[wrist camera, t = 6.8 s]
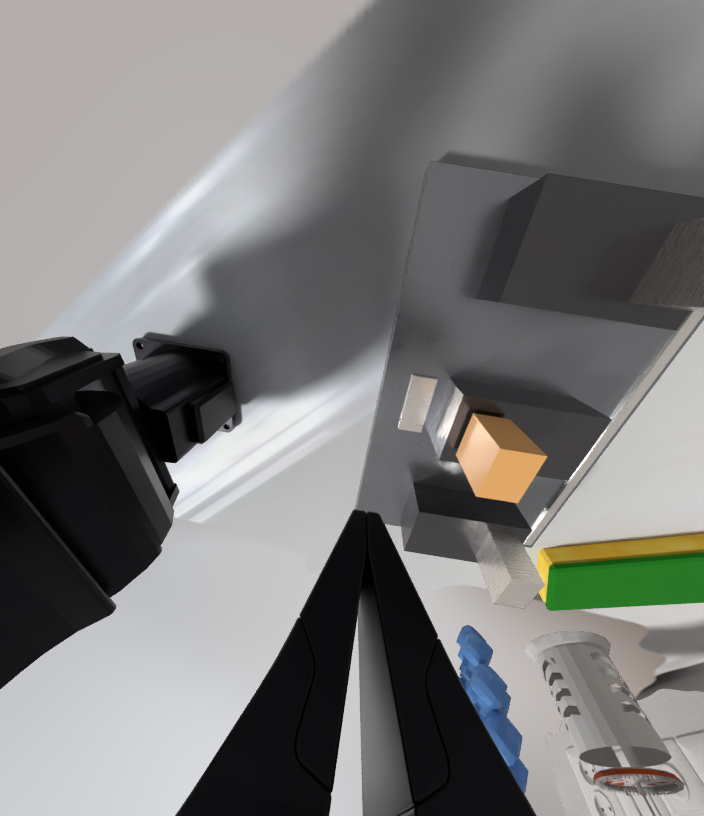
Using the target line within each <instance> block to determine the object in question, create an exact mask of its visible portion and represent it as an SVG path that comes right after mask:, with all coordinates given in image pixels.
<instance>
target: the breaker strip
mask: <svg viewBox="0 0 704 816" xmlns="http://www.w3.org/2000/svg"><path fill="white" fill-rule="evenodd" d="M703 320H704V198H701V197H695V196H688V195H682V194H676V193H669V192H663V191H657V190H650V189H644V188H638V187H631V186H625V185H619V184H612V183H606V182H599V181H593V180H587V179H580V178H574V177H568V176H561V175H555V174H549V173H548V174H547V175H545V176H544V177H542V178H536V177H529V176H523V175H517V174H510V173H504V172H498V171H491V170H485V169H479V168H472V167H466V166H460V165H453V164H447V163H441V162H434V161H431V162H430V164H429V166H428V168H427V170H426V173H425V178H424V182H423V187H422V192H421V197H420V201H419V206H418V211H417V216H416V220H415V225H414V230H413V235H412V240H411V244H410V249H409V254H408V259H407V263H406V268H405V273H404V278H403V282H402V287H401V292H400V297H399V301H398V306H397V311H396V316H395V320H394V325H393V330H392V335H391V340H390V344H389V349H388V354H387V359H386V363H385V368H384V373H383V378H382V382H381V387H380V392H379V397H378V401H377V406H376V411H375V416H374V420H373V425H372V430H371V435H370V440H369V444H368V449H367V454H366V459H365V463H364V468H363V473H362V478H361V482H360V487H359V492H358V497H357V501H356V506H355V509H358V510H364V511H365V512H367V511H371V512H377V513H379V514H380V516H381V518H382V520H383V522H384V524H389V525H395V526H401V529H402V537H403V546H404V551H409V552H415V553H421V554H427V555H434V556H440V557H446V558H452V559H458V560H464V561H470V562H477V563H478V564H479V567H480V570H481V572H482V575H483V578H484V580H485V583H486V586H487V588H488V591H489V593H490V596H491V599H492V602H493V604H498V605H504V606H510V607H517V608H523V609H524V608H525V607H526V606H527V604H529V602H530V601H531V600H532V599H533V598H534V597H535V596H536V595H537V594H538V592H539V591H540V590H541V589H542V588H543V587H544V586H545V584H544V582H543V580H542V578H541V577H540V575H539V573H538V571H537V570H536V568H535V566H534V564H533V563H532V561H531V559H530V557H529V556H528V554H527V552H526V550H525V548H524V547H530V548H531V547H532V546H533V545H534V543H535V542H536V541H537V539H538V538H539V537H540V535H541V534H542V533H543V531H544V530H545V529H546V527H547V526H548V525H549V524H550V522H551V521H552V520H553V518H554V517H555V516H556V514H557V513H558V512H559V510H560V509H561V508H562V506H563V505H564V504H565V502H566V501H567V500H568V498H569V497H570V496H571V494H572V493H573V492H574V490H575V489H576V488H577V487H578V485H579V484H580V483H581V481H582V480H583V479H584V477H585V476H586V475H587V473H588V472H589V471H590V469H591V468H592V467H593V465H594V464H595V463H596V461H597V460H598V459H599V457H600V456H601V455H602V453H603V452H604V451H605V450H606V448H607V447H608V446H609V444H610V443H611V442H612V440H613V439H614V438H615V436H616V435H617V434H618V432H619V431H620V430H621V428H622V427H623V426H624V424H625V423H626V422H627V420H628V419H629V418H630V416H631V415H632V414H633V412H634V411H635V410H636V409H637V407H638V406H639V405H640V403H641V402H642V401H643V399H644V398H645V397H646V395H647V394H648V393H649V391H650V390H651V389H652V387H653V386H654V385H655V383H656V382H657V381H658V379H659V378H660V377H661V375H662V374H663V373H664V372H665V370H666V369H667V368H668V366H669V365H670V364H671V362H672V361H673V360H674V358H675V357H676V356H677V354H678V353H679V352H680V350H681V349H682V348H683V346H684V345H685V344H686V342H687V341H688V340H689V338H690V337H691V336H692V334H693V333H694V332H695V331H696V329H697V328H698V327H699V325H700V324H701V323H702V321H703ZM473 413H475V414H481V415H487V416H494V417H500V418H506V419H510V420H511V421H512V422H513V423H514V424H515V425H517V426H518V427H519V428H520V429H521V430H522V431H523V432H524V433H525V434H526V435H527V436H528V437H529V438H530V439H531V440H532V441H533V442H534V443H535V444H536V445H537V446H538V447H539V448H540V449H541V450H542V451H543V452H544V453H545V454H546V455H547V456H548V457H547V458H546V460H545V461H544V463H543V465H542V466H541V468H540V469H539V471H538V473H537V474H536V476H535V477H534V479H533V480H532V482H531V484H530V485H529V487H528V488H527V490H526V491H525V493H524V495H523V496H522V498H521V499H520V501H519V502H518V503H513V502H507V501H501V500H494V499H488V498H482V497H476V495H475V493H474V491H473V489H472V487H471V485H470V483H469V481H468V479H467V477H466V475H465V473H464V471H463V468H462V466H461V464H460V462H459V460H458V458H457V456H456V453H457V451H458V448H459V446H460V443H461V441H462V439H463V436H464V434H465V432H466V429H467V427H468V424H469V422H470V420H471V417H472V415H473ZM523 546H524V547H523Z"/></svg>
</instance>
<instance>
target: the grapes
mask: <svg viewBox="0 0 704 816" xmlns="http://www.w3.org/2000/svg"><path fill="white" fill-rule="evenodd" d="M457 643H458V644H459V645H460V646H461V648H460V651H459V653H458V656H459V657H460V659H461V660H462V664H461V666H460V670H461V674H460V676H461V678H460V677H459V679H460V681H461V683H462V685H463V687H464V689H465V691H466V693H467V694H468V696H469V698H470V700H471V702H472V703H473V705H474V707H475V709H476V711H477V712H478V714H479V716H480V718H481V720H482V721H483V723H484V725H485V727H486V728H487V730H488V732H489V734H490V735H491V737H492V739H493V741H494V742H495V744H496V746H497V748H498V749H499V751H500V753H501V755H502V756H503V758H504V760H505V762H506V763H507V765H508V767H509V769H510V770H511V772H512V774H513V776H514V777H515V779H516V781H517V782H518V784H519V786H520V788H521V789H522V791H523V793H524V794H525V791H526V785H527V777H528V770H527V768H526V767H525V766H524V764H523V763H522V762H521V760H520V759H519V755H520V749H521V743H522V736H521V734H520V733H519V732H518V730H517V729H516V728H515V726H514V725H513V724H512V723H511V722H510V720H509V719H508V718H507V717H506V716H507V713H508V710H509V705H510V700H511V697H510V696H509V695H508V694H507V692H506V690H507V685H506V684H505V683H504V681H503V680H502V679H501V678H500V677H499V675H498V674H497V673H496V672H495V671H494V670H493V669H492V668H491V667H489V666H488V665H489V663H490V660H491V658H492V654H493V650H492V648H491V647H490V646H489V645H488V644H487V643H486V641H485V640H484V638H483V637H482V636H481V635H480V634H479V633H478V632H477V631H476V630H475V629H474V628H473V627H471V626H469V625H467V626H464V627H462V629H461V632H460V633H459V636H458V639H457Z"/></svg>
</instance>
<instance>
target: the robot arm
mask: <svg viewBox="0 0 704 816" xmlns="http://www.w3.org/2000/svg"><path fill="white" fill-rule="evenodd" d="M141 344H142V345H143V346H144V348H143V347H142V345H141ZM133 348H134V352H135V356H136V359H137V361H135V362H132V363H129V364H124V362H123V359H122V357H121V355H120V353H100V352H94V351H93V349H92V348H88V347H87V346H86V345H84V344H83V343H81V342H80V341H79V340H77V339H76V338H74V337H56V338H51V339H45V340H39V341H33V342H28V343H23V344H17V345H13V346H9V347H5V348H2V349H0V689H1V688H2V687H3V686H5V685H6V684H7V683H8V682H9V681H11V680H12V679H13V678H14V677H15V676H17V675H18V674H19V673H20V672H21V671H23V670H24V669H25V668H26V667H28V666H29V665H30V664H31V663H33V662H34V661H35V660H37V659H38V658H39V657H40V656H42V655H43V654H44V653H46V652H47V651H49V650H50V649H52V648H53V647H54V646H56V645H58V644H59V643H60V642H62V641H64V640H65V639H67V638H68V637H70V636H71V635H73V634H74V633H76V632H77V631H79V630H81V629H83V628H85V627H87V626H89V625H91V624H93V623H95V622H97V621H99V620H101V619H103V618H105V617H107V616H109V615H111V614H112V613H113V612H114V610H115V609H116V604H115V603H114V602H113V601H112V599H111V598H110V597H112V596H113V595H115V594H116V593H118V592H119V591H121V590H122V589H123V588H124V587H125V586H127V585H128V584H129V583H130V582H131V581H132V580H133V579H135V578H136V577H137V576H138V575H140V574H141V573H142V572H143V571H144V570H146V569H147V568H148V566H149V565H150V564H151V563H152V562H153V561H154V560H155V559H156V558H157V557H158V556H159V554H160V553H161V551H162V547H161V544H162V543H163V541H164V539H165V537H166V535H167V533H168V531H169V529H170V528H171V526H172V522H173V515H174V510H173V505H174V503H175V500H176V498H177V496H178V494H179V489H178V486H177V484H175V483H174V482H173V480H172V478H171V475H170V473H169V471H168V469H167V466H166V464H165V462H170V463H176V462H178V461H179V460H180V459H181V458H182V457H183V456H184V455H185V454H186V453H188V452H189V451H190V450H191V449H192V448H193V447H194V446H195V445H196V444H197V443H198V444H203V443H204V442H206V441H207V440H208V439H209V438H210V437H211V436H212V435H213V434H214V433H215V432H216V431H223V432H231V431H232V430H233V429H234V428H235V416H234V414H235V413H236V407H235V395H234V384H233V382H232V381H231V371H230V359H229V356H228V354H227V353H226V352H225V351H222V350H217V349H211V348H204V347H198V346H192V345H186V344H179V343H173V342H167V341H161V340H155V339H148V338H137V339H134V340H133ZM219 356H221V357H222V358H223V361H222V360H220V359H219ZM226 424H227V425H229V427H228V426H227V425H226ZM357 615H358V640H359V680H360V717H361V718H360V721H361V761H362V801H363V816H536V814H535V812H534V810H533V809H532V807H531V805H530V803H529V802H528V800H527V798H526V796H525V795H524V793H523V791H522V789H521V788H520V786H519V784H518V782H517V781H516V779H515V777H514V776H513V774H512V772H511V770H510V769H509V767H508V765H507V763H506V762H505V760H504V758H503V756H502V755H501V753H500V751H499V749H498V748H497V746H496V744H495V742H494V741H493V739H492V737H491V735H490V734H489V732H488V730H487V728H486V727H485V725H484V723H483V721H482V720H481V718H480V716H479V714H478V712H477V711H476V709H475V707H474V705H473V703H472V702H471V700H470V698H469V696H468V694H467V693H466V691H465V689H464V687H463V685H462V683H461V681H460V679H459V677H458V675H457V673H456V671H455V669H454V667H453V666H452V663H451V661H450V659H449V658H448V655H447V653H446V651H445V649H444V647H443V645H442V643H441V640H440V639H437V638H438V635H437V633H436V630H435V628H434V626H433V624H432V622H431V620H430V618H429V616H428V614H427V612H426V610H425V608H424V605H423V603H422V601H421V599H420V597H419V595H418V593H417V591H416V589H415V587H414V585H413V583H412V580H411V578H410V576H409V574H408V572H407V570H406V568H405V566H404V564H403V562H402V560H401V558H400V556H399V553H398V551H397V549H396V547H395V545H394V543H393V541H392V539H391V537H390V535H389V533H388V531H387V529H386V526H385V524H384V522H383V520H382V518H381V516H380V514H379V513H377V512H371V511H367V512H365V511H364V510H358V509H354V510H353V511H352V513H351V515H350V517H349V519H348V521H347V523H346V525H345V527H344V529H343V531H342V533H341V535H340V537H339V539H338V541H337V543H336V544H335V546H334V548H333V550H332V552H331V554H330V556H329V558H328V560H327V562H326V564H325V566H324V568H323V570H322V572H321V574H320V576H319V578H318V580H317V582H316V584H315V586H314V588H313V590H312V591H311V593H310V595H309V597H308V599H307V601H306V603H305V606H304V607H303V609H302V611H301V613H300V617H299V618H298V619H297V620H296V623H295V624H294V626H293V628H292V630H291V632H290V634H289V636H288V638H287V640H286V641H285V643H284V645H283V647H282V649H281V651H280V652H279V654H278V656H277V658H276V660H275V662H274V663H273V665H272V667H271V668H270V670H269V672H268V673H267V675H266V676H265V678H264V680H263V681H262V683H261V685H260V686H259V688H258V690H257V691H256V693H255V694H254V696H253V697H252V699H251V701H250V702H249V704H248V705H247V707H246V708H245V710H244V711H243V713H242V715H241V716H240V718H239V719H238V721H237V722H236V724H235V725H234V727H233V729H232V730H231V732H230V733H229V735H228V736H227V738H226V740H225V741H224V743H223V744H222V746H221V747H220V749H219V750H218V752H217V753H216V755H215V757H214V758H213V760H212V761H211V763H210V764H209V766H208V767H207V769H206V771H205V772H204V774H203V775H202V777H201V778H200V780H199V782H198V783H197V784H196V786H195V787H194V789H193V790H192V792H191V794H190V795H189V796H188V798H187V799H186V801H185V802H184V804H183V805H182V807H181V808H180V810H179V811H178V812H177V814H176V815H175V816H329V812H330V805H331V792H332V790H333V784H334V777H335V770H336V763H337V756H338V748H339V742H340V734H341V728H342V721H343V713H344V706H345V700H346V693H347V685H348V678H349V671H350V664H351V656H352V650H353V643H354V636H355V629H356V622H357Z"/></svg>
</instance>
